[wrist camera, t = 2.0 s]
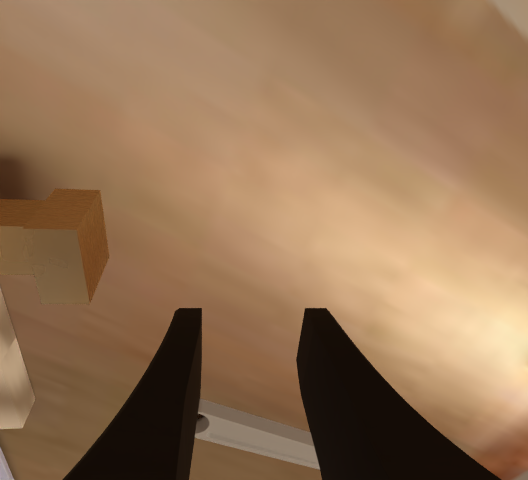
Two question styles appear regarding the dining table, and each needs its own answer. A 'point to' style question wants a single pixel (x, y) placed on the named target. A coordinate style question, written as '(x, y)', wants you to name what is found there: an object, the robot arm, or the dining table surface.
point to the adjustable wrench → (254, 434)
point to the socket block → (12, 376)
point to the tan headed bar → (56, 243)
